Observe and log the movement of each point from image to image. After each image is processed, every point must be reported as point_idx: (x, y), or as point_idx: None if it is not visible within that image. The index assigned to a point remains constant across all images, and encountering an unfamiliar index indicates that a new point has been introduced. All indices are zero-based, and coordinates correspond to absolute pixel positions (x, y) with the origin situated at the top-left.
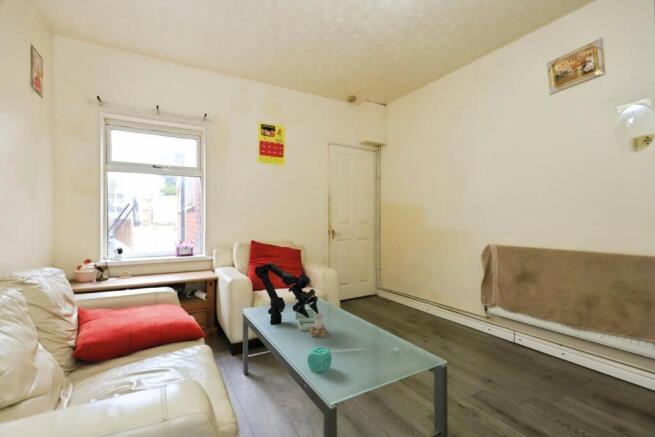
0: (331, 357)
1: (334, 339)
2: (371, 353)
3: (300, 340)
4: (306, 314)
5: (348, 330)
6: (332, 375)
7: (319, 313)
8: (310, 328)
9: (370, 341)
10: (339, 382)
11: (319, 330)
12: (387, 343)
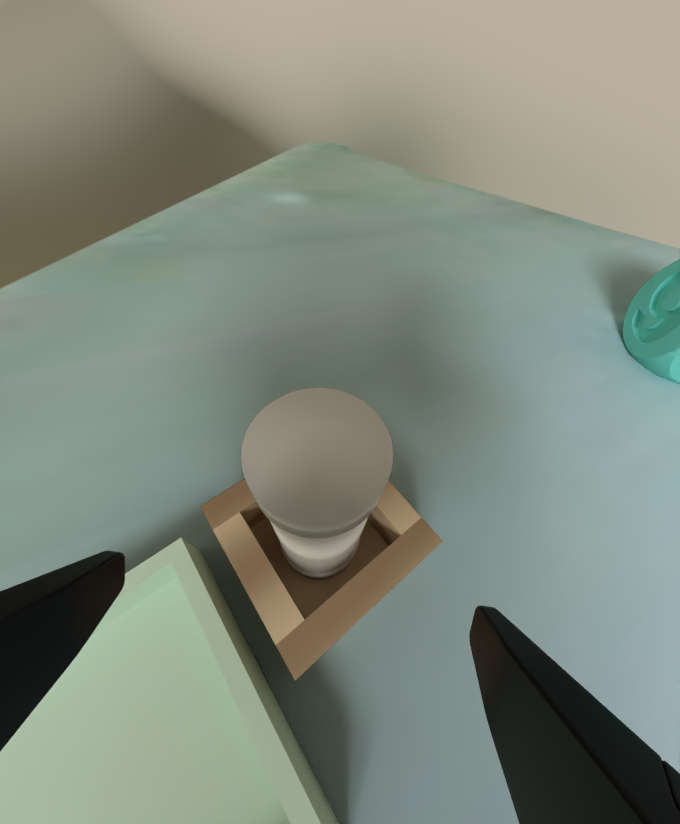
0: (654, 277)
1: None
2: (380, 242)
3: None
4: (573, 702)
5: (122, 371)
6: None
7: (246, 460)
8: (346, 631)
9: (258, 259)
10: None
11: None
12: (250, 216)
